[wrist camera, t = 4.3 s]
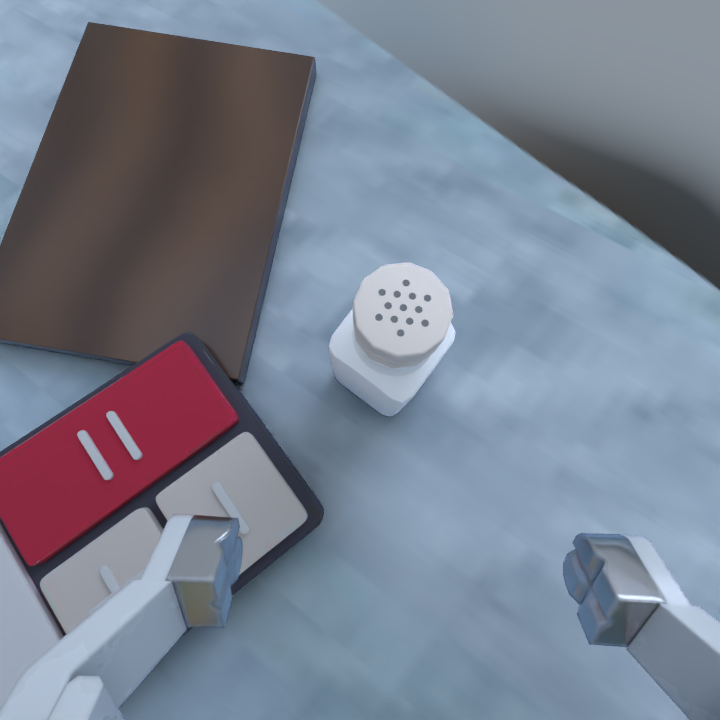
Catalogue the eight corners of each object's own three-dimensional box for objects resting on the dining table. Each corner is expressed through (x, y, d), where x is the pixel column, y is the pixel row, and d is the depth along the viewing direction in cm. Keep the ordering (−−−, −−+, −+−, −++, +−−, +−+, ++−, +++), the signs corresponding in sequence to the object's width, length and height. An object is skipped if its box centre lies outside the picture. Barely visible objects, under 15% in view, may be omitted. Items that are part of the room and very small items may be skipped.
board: (-16, 339, 23) (-36, 333, 22) (99, 40, 27) (87, 21, 26) (244, 384, 23) (238, 380, 21) (316, 73, 27) (314, 56, 26)
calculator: (326, 520, 18) (-20, 801, 15) (328, 511, 22) (57, 730, 19) (184, 321, 20) (-149, 536, 17) (210, 347, 24) (-54, 524, 21)
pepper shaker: (329, 376, 23) (314, 318, 14) (374, 319, 24) (390, 227, 14) (390, 423, 22) (418, 395, 13) (434, 362, 23) (490, 296, 14)
